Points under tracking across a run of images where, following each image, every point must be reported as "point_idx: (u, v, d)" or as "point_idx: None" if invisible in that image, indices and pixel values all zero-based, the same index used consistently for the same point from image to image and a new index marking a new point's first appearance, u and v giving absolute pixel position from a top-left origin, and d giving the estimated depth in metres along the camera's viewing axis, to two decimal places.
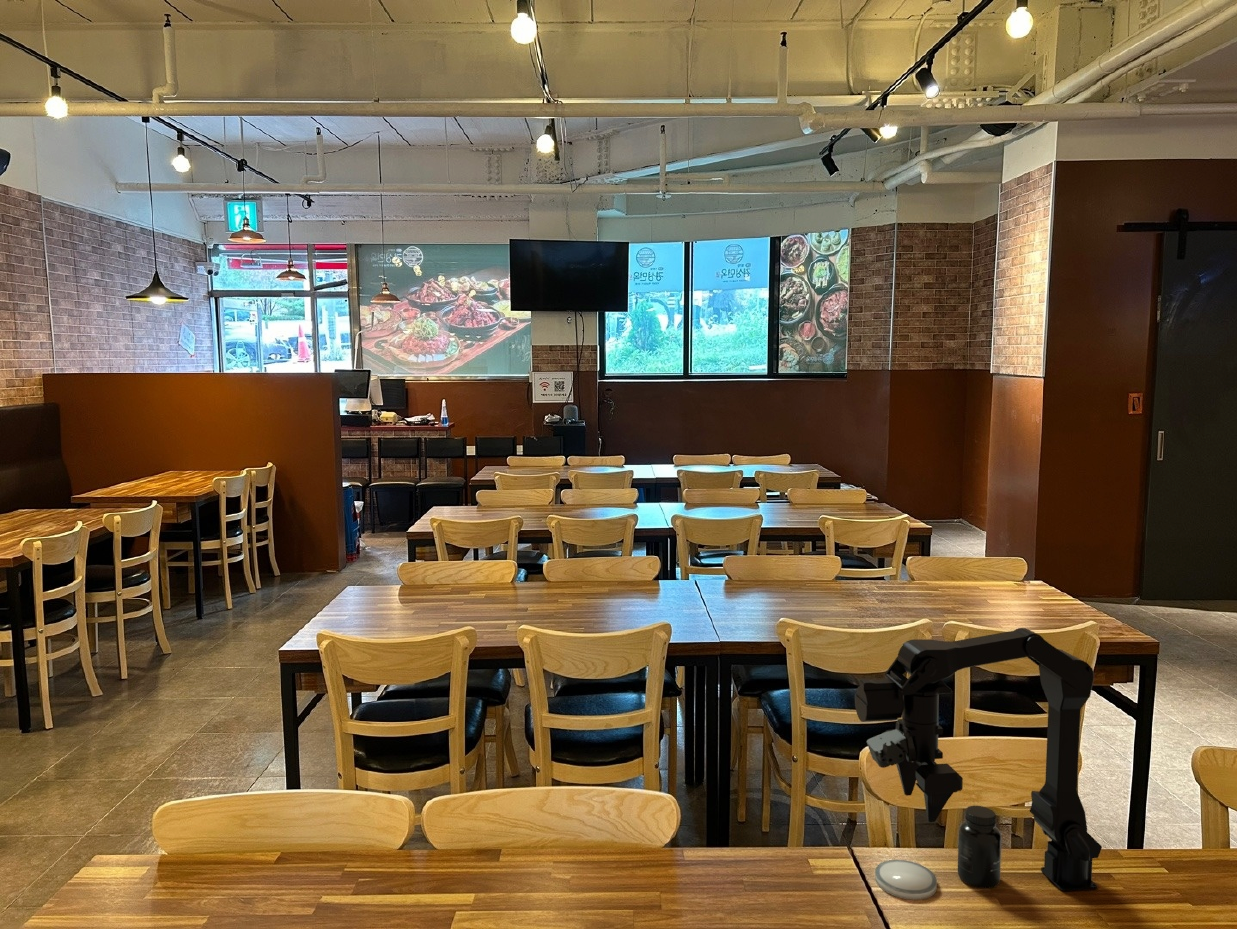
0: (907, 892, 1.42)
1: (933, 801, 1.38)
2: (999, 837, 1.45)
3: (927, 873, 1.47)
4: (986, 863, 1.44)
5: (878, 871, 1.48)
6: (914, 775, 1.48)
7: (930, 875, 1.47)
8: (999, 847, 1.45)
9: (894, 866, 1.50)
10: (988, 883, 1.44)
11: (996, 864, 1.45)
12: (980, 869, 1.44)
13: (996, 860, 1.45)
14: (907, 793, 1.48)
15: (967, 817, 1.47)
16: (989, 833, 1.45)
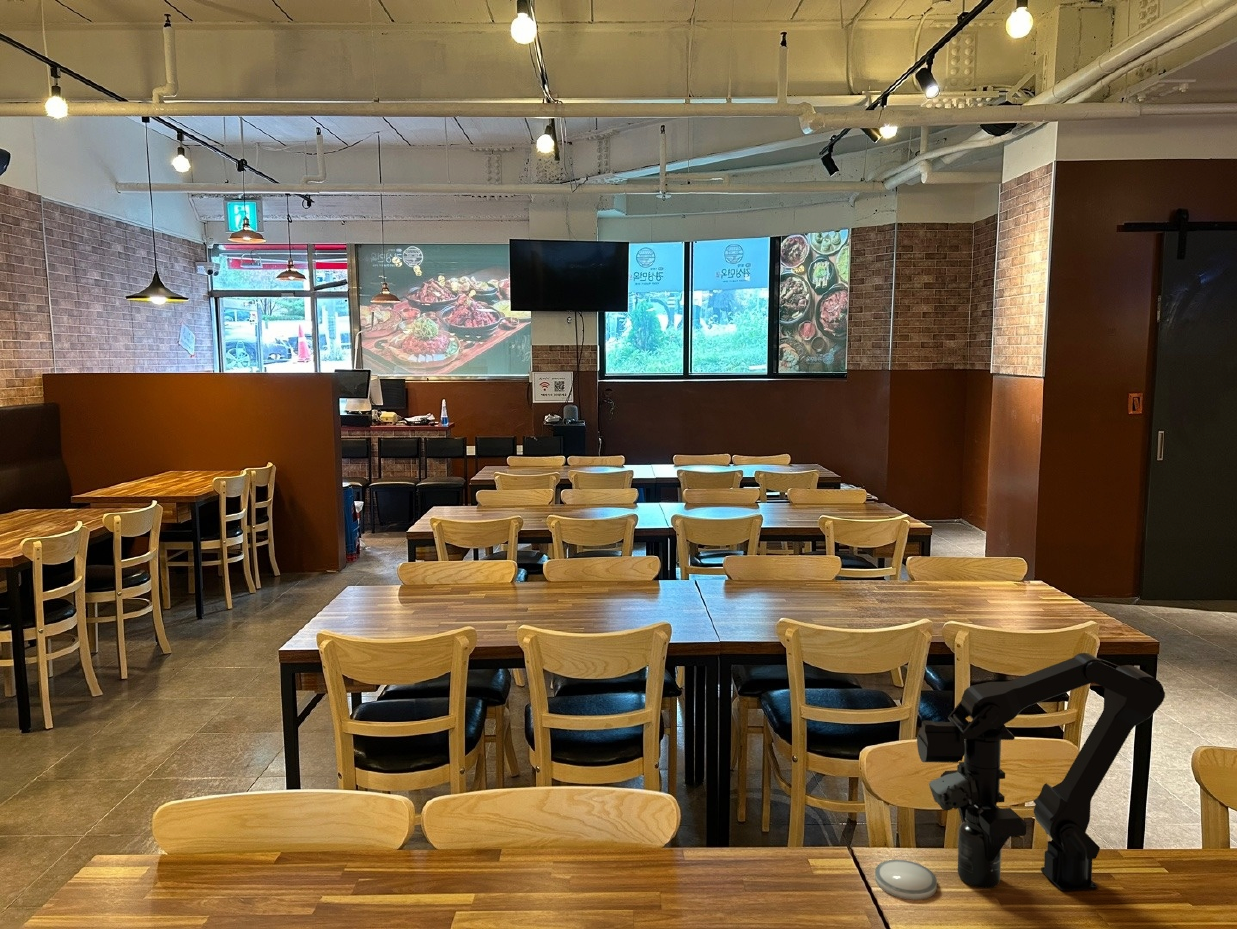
0: (907, 892, 1.42)
1: (992, 841, 1.42)
2: None
3: (927, 873, 1.47)
4: (986, 863, 1.44)
5: (878, 871, 1.48)
6: None
7: (930, 875, 1.47)
8: None
9: (894, 866, 1.50)
10: (988, 883, 1.44)
11: (997, 864, 1.45)
12: (980, 869, 1.44)
13: (996, 860, 1.45)
14: None
15: (967, 817, 1.47)
16: None
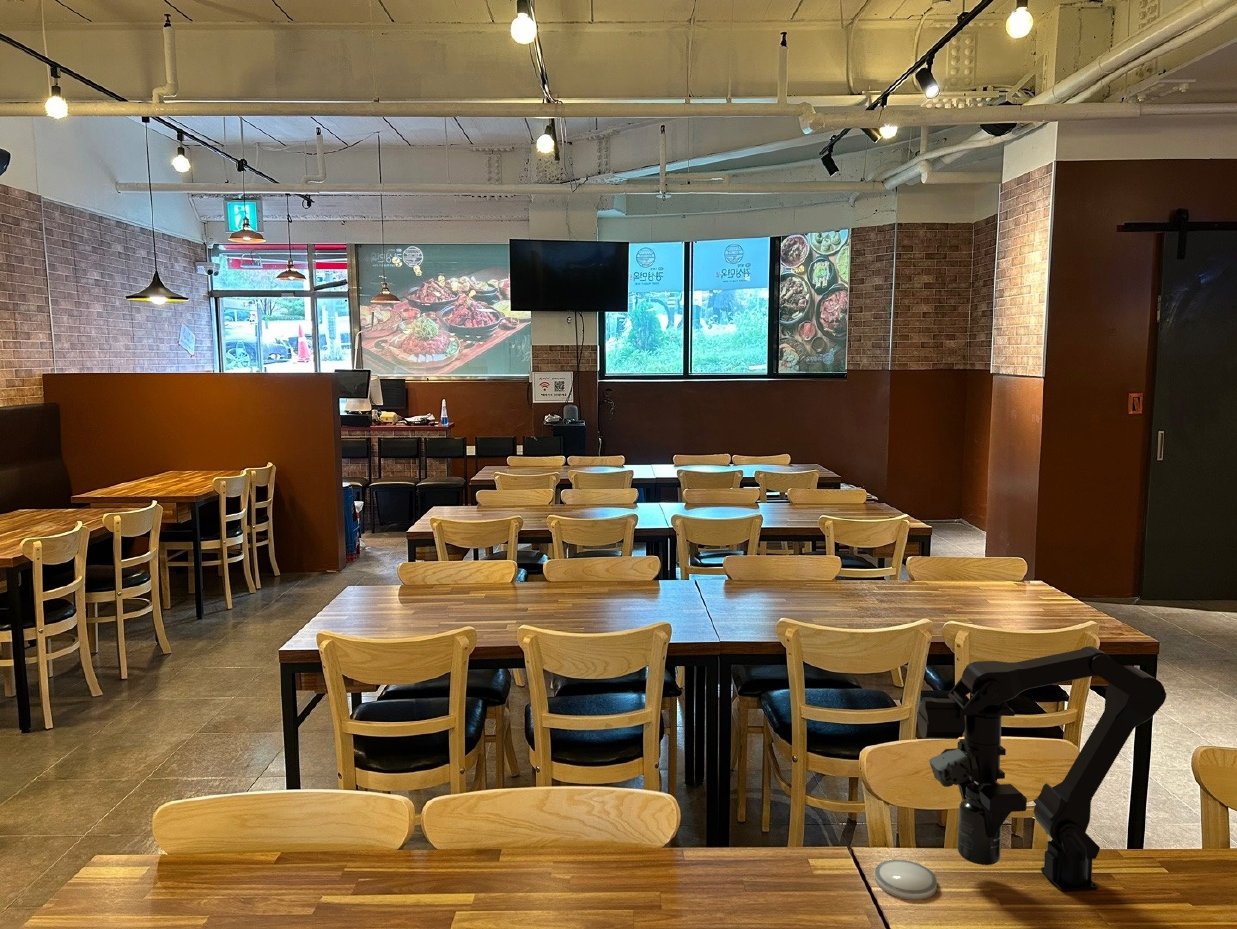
0: (907, 892, 1.42)
1: (993, 817, 1.42)
2: None
3: (927, 873, 1.47)
4: (987, 840, 1.44)
5: (878, 871, 1.48)
6: None
7: (930, 875, 1.47)
8: None
9: (894, 866, 1.50)
10: (988, 860, 1.44)
11: (997, 841, 1.44)
12: (980, 846, 1.44)
13: (996, 837, 1.44)
14: None
15: (967, 794, 1.47)
16: None
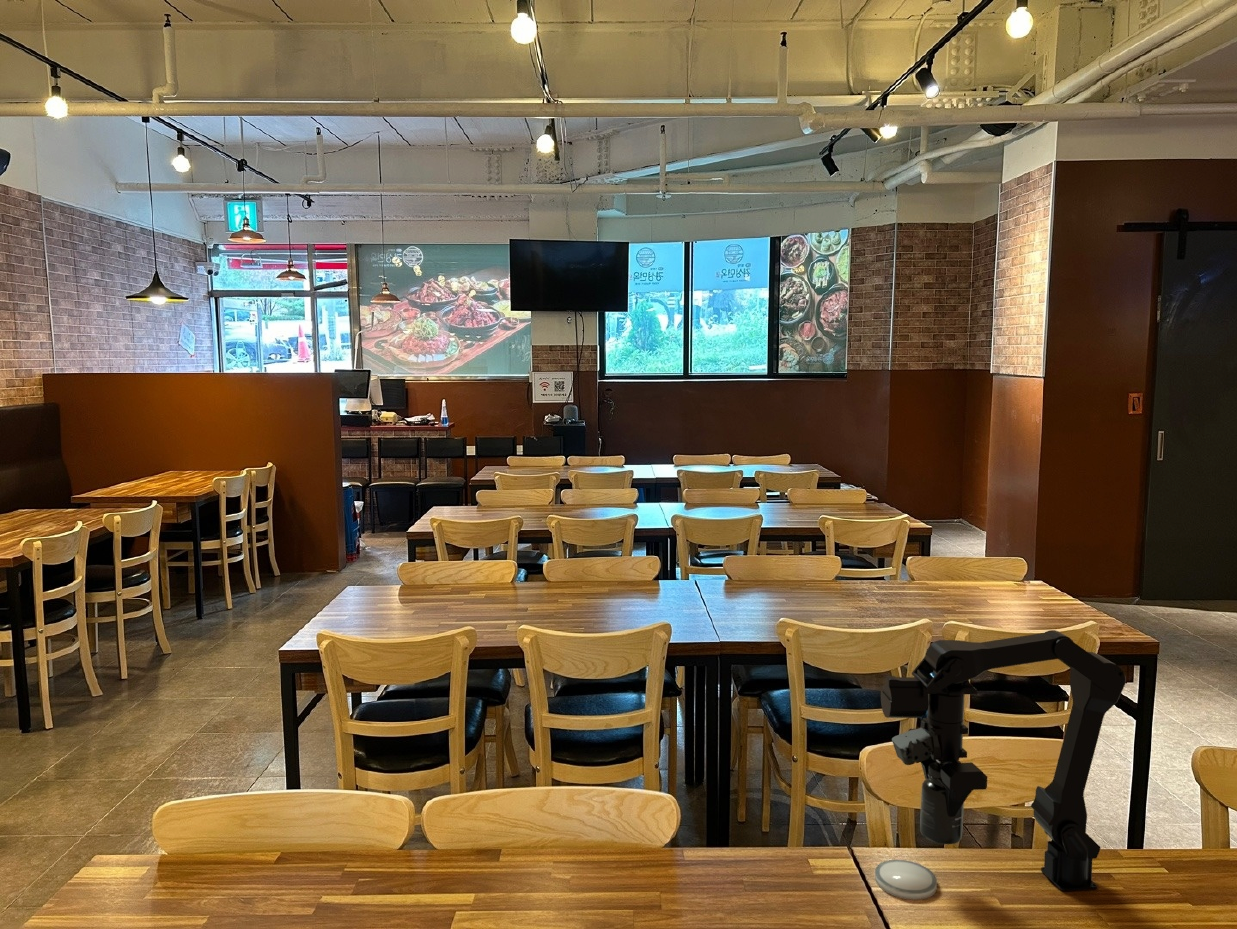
0: (907, 892, 1.42)
1: (954, 796, 1.41)
2: None
3: (927, 873, 1.47)
4: (948, 819, 1.43)
5: (878, 871, 1.48)
6: None
7: (930, 875, 1.47)
8: None
9: (894, 866, 1.50)
10: (949, 839, 1.43)
11: (958, 820, 1.44)
12: (942, 825, 1.43)
13: (958, 816, 1.43)
14: None
15: (930, 773, 1.46)
16: None
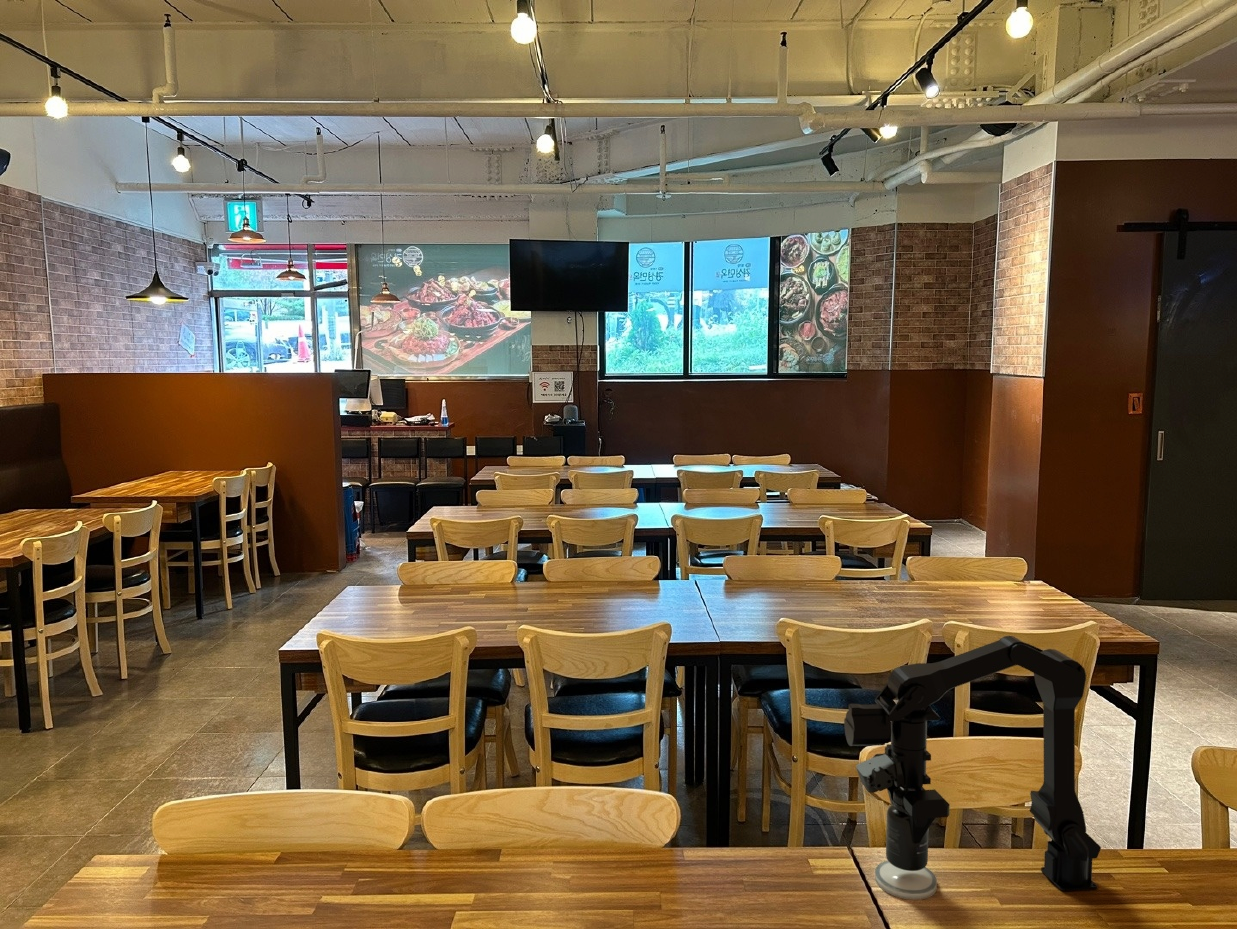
0: (907, 892, 1.42)
1: (917, 823, 1.41)
2: None
3: (927, 873, 1.47)
4: (912, 846, 1.43)
5: (878, 871, 1.48)
6: None
7: (930, 875, 1.47)
8: None
9: (894, 866, 1.50)
10: (915, 866, 1.43)
11: (923, 847, 1.43)
12: (906, 852, 1.43)
13: (922, 842, 1.43)
14: None
15: (894, 799, 1.46)
16: None
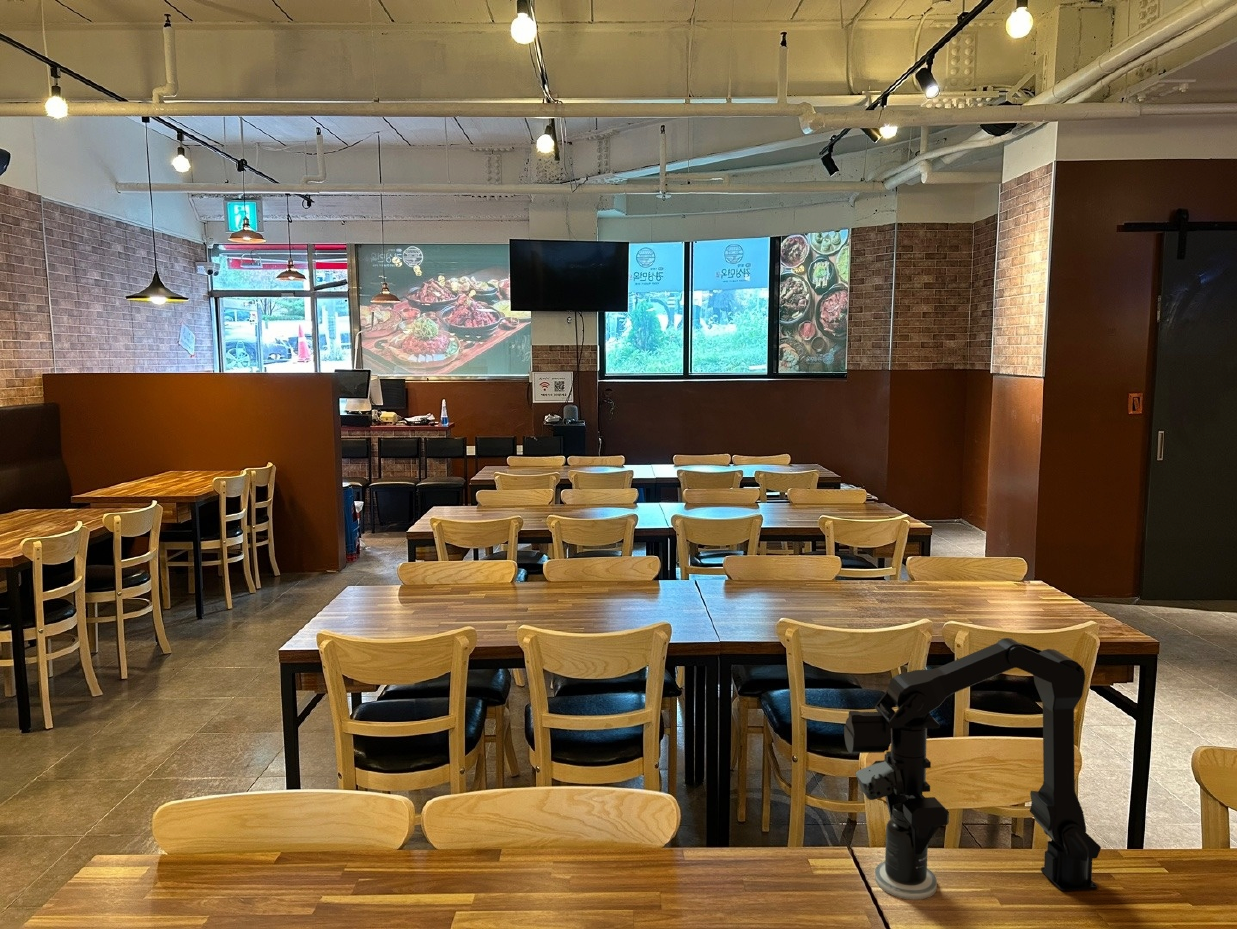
0: (907, 892, 1.42)
1: (919, 834, 1.40)
2: None
3: (927, 873, 1.47)
4: (911, 860, 1.43)
5: (878, 871, 1.48)
6: None
7: (930, 875, 1.47)
8: None
9: None
10: (913, 880, 1.43)
11: (922, 861, 1.44)
12: (905, 866, 1.43)
13: (921, 857, 1.43)
14: None
15: (894, 814, 1.46)
16: None
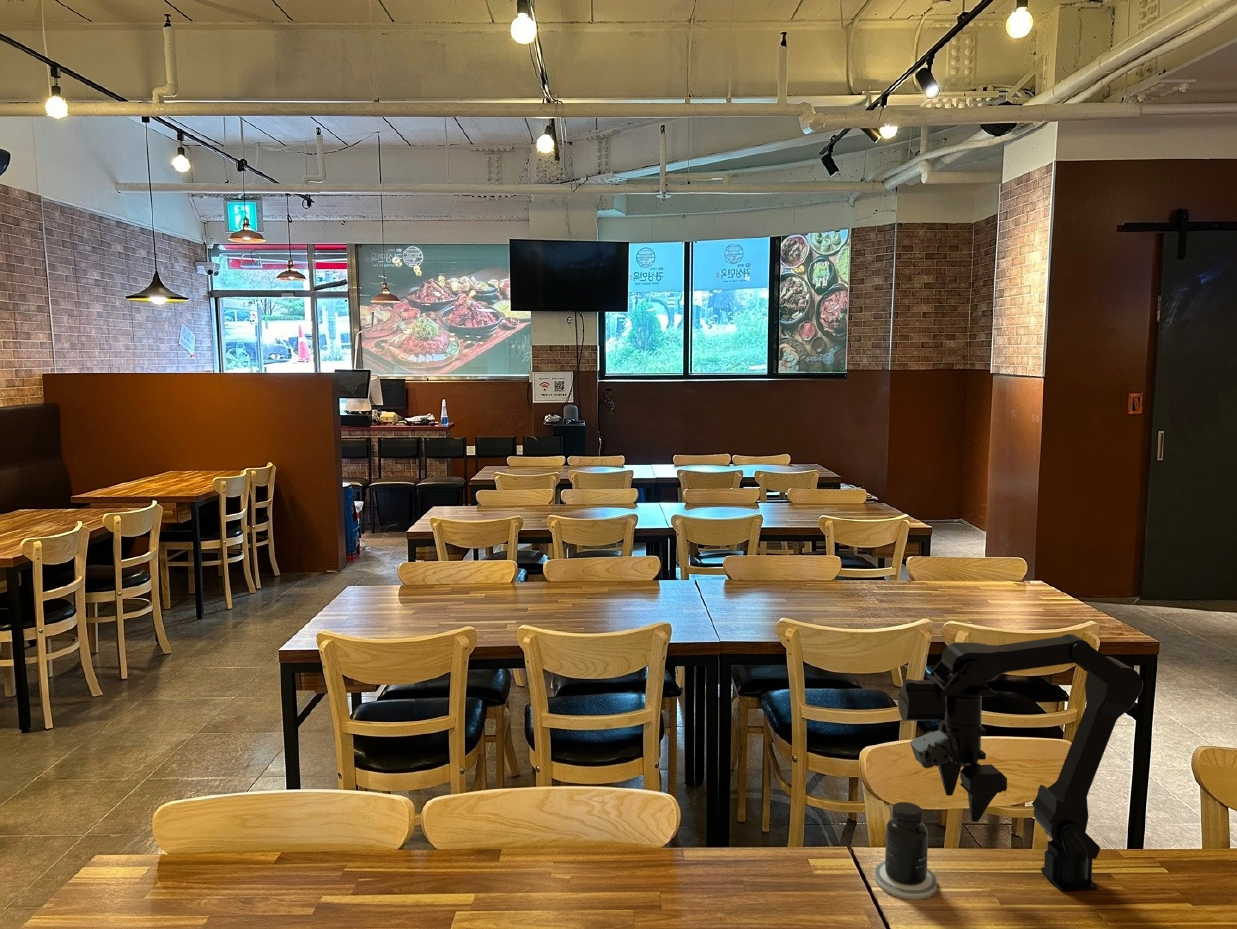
0: (907, 892, 1.42)
1: (977, 801, 1.40)
2: (925, 833, 1.44)
3: (927, 873, 1.47)
4: (911, 860, 1.43)
5: (878, 871, 1.48)
6: (955, 776, 1.51)
7: (930, 875, 1.47)
8: (925, 844, 1.44)
9: None
10: (913, 880, 1.43)
11: (922, 861, 1.44)
12: (905, 866, 1.43)
13: (921, 857, 1.43)
14: (948, 793, 1.51)
15: (894, 813, 1.46)
16: (914, 829, 1.44)
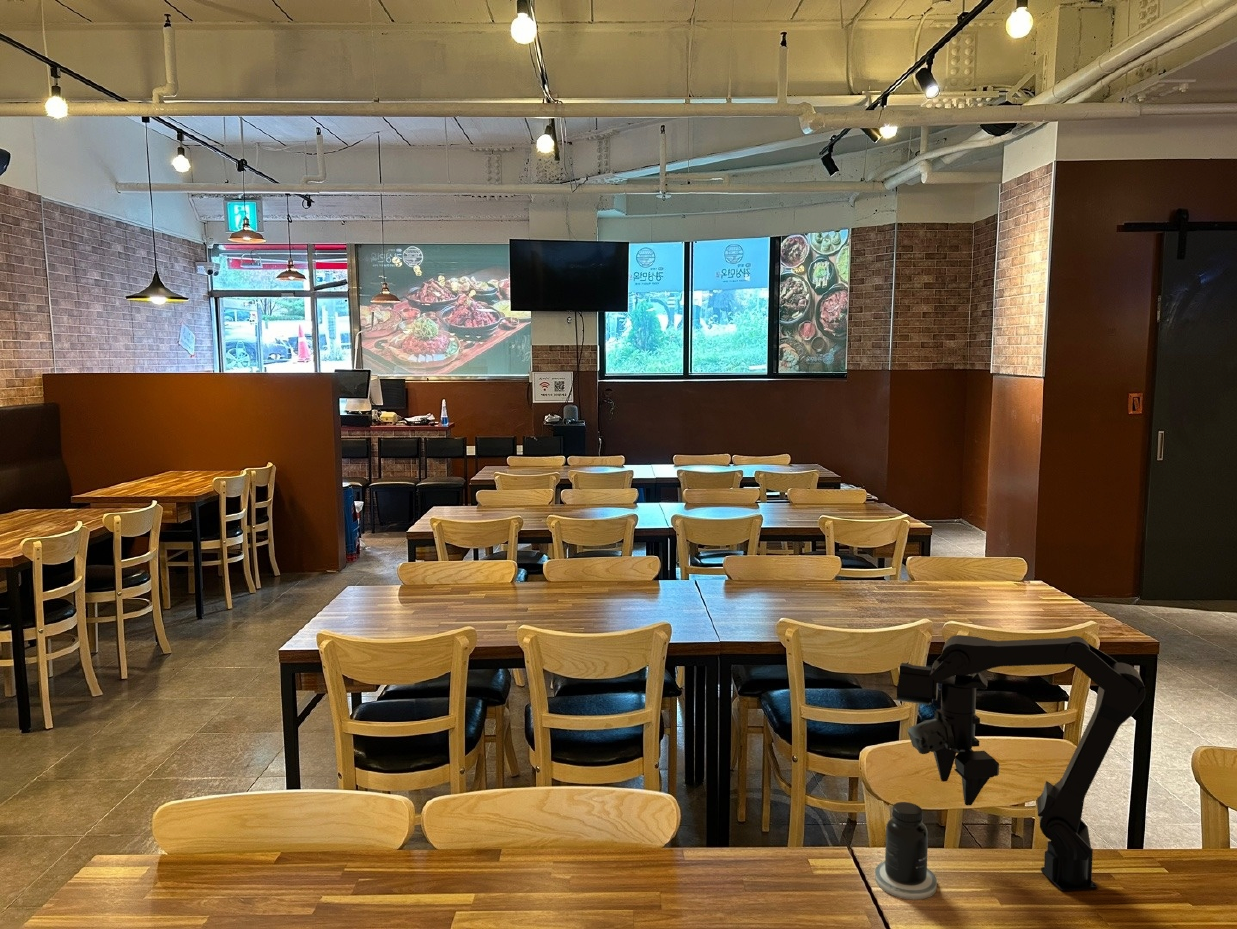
0: (907, 892, 1.42)
1: (970, 786, 1.48)
2: (925, 833, 1.44)
3: (927, 873, 1.47)
4: (911, 860, 1.43)
5: (878, 871, 1.48)
6: (950, 762, 1.58)
7: (930, 875, 1.47)
8: (925, 844, 1.44)
9: None
10: (913, 880, 1.43)
11: (922, 861, 1.44)
12: (905, 866, 1.43)
13: (921, 857, 1.43)
14: (943, 779, 1.58)
15: (894, 813, 1.46)
16: (914, 829, 1.44)
